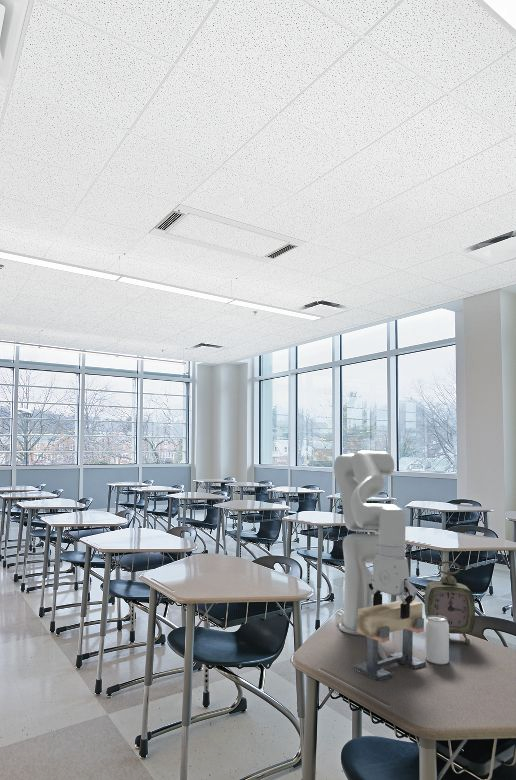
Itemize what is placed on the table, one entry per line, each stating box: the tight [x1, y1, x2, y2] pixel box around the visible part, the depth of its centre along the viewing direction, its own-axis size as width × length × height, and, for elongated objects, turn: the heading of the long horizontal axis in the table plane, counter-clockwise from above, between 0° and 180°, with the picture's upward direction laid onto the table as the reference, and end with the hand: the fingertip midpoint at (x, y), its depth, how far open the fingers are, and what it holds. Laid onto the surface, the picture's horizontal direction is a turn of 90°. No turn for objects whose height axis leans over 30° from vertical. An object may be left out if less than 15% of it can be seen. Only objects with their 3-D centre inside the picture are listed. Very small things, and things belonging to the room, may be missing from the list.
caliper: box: [378, 641, 389, 660], centre depth 161 cm, size 20×1×6 cm, turn 4°
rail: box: [357, 599, 423, 637], centre depth 151 cm, size 5×22×6 cm, turn 127°
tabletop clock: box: [423, 560, 476, 645], centre depth 176 cm, size 14×9×25 cm, turn 82°
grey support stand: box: [353, 617, 427, 682], centre depth 150 cm, size 9×20×13 cm, turn 127°
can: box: [425, 615, 450, 666], centre depth 157 cm, size 6×6×12 cm
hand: (390, 613), depth 151 cm, fingers open, 9 cm apart
